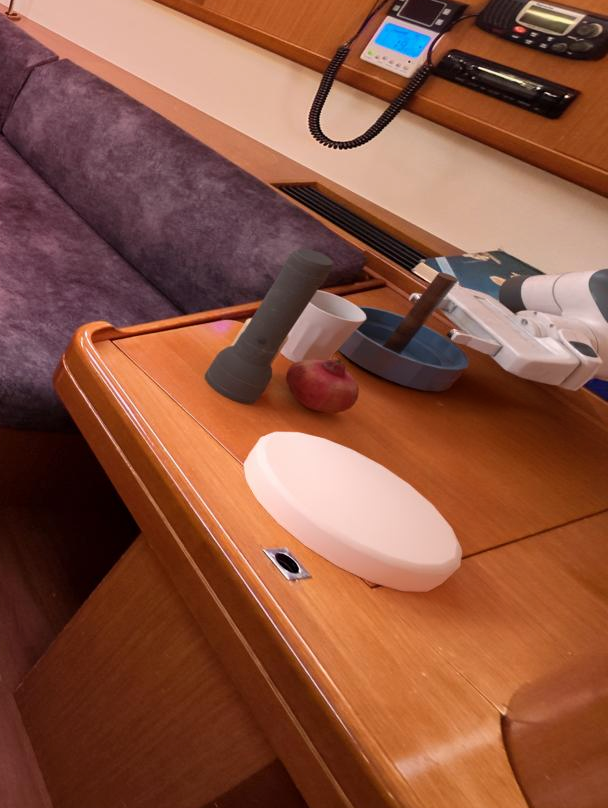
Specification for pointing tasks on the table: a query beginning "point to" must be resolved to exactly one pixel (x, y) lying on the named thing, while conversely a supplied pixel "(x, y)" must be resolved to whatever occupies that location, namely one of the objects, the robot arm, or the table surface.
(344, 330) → the cup
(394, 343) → the stick
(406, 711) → the table surface
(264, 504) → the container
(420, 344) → the bowl
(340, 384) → the fruit
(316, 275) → the flashlight
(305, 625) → the table surface
